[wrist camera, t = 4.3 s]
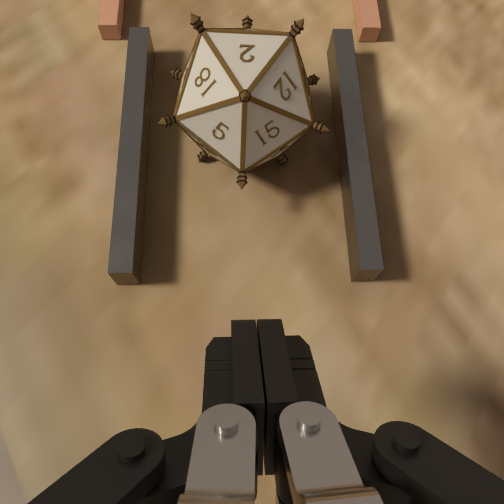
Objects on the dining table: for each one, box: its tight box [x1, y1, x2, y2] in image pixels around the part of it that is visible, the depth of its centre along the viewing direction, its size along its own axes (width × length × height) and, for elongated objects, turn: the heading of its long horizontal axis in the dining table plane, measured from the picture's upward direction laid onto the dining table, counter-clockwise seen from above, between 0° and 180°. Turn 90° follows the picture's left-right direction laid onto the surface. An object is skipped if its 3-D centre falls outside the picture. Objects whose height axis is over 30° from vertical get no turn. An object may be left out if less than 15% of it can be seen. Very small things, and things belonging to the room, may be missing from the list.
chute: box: [108, 27, 384, 285], centre depth 27 cm, size 14×16×2 cm
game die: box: [158, 13, 329, 189], centre depth 25 cm, size 9×8×10 cm
